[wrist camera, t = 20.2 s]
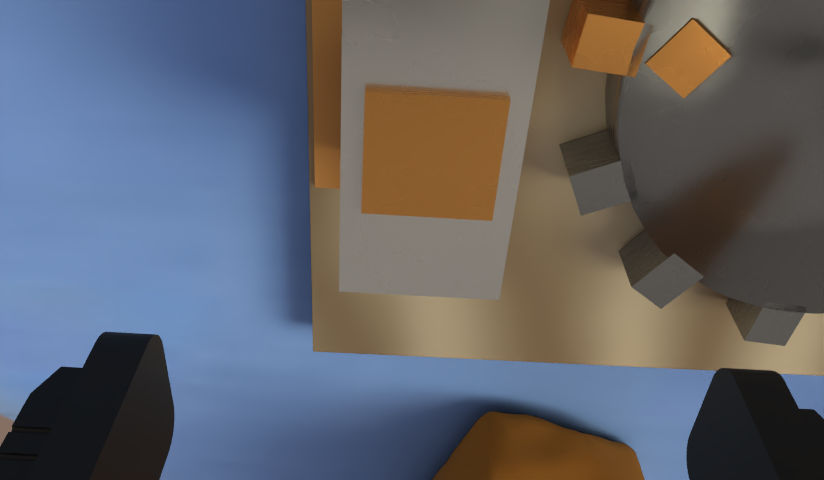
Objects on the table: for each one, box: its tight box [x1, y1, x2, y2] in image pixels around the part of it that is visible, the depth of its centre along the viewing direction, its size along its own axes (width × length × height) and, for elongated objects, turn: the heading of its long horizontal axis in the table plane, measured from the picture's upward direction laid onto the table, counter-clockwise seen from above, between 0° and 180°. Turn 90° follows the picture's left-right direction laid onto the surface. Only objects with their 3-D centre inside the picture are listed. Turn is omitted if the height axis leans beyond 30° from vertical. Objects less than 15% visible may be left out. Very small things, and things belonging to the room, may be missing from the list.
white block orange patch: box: [339, 0, 550, 300], centre depth 20 cm, size 4×8×7 cm, turn 176°
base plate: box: [306, 0, 824, 376], centre depth 24 cm, size 30×26×2 cm
